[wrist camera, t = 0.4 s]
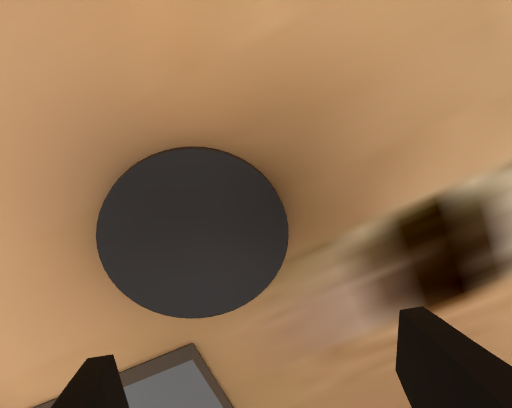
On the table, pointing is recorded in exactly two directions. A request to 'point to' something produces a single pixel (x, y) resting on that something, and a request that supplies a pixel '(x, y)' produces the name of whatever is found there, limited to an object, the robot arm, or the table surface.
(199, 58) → the table surface
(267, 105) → the table surface
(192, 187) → the coaster
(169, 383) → the post base
